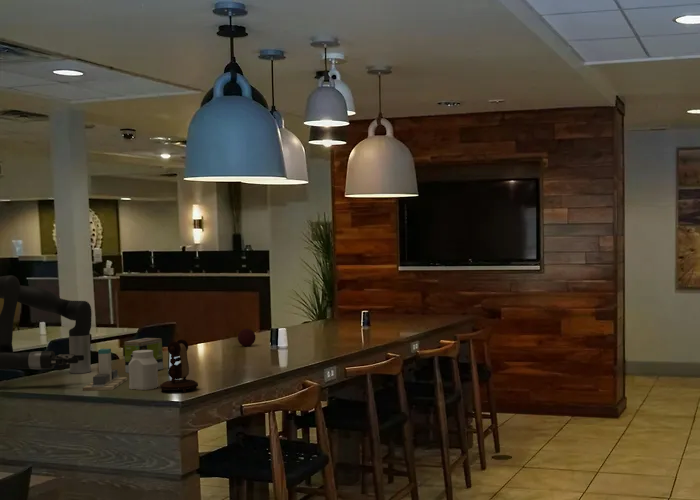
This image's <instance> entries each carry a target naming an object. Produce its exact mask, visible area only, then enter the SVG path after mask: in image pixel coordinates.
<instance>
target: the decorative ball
mask: <svg viewBox="0 0 700 500" xmlns="http://www.w3.org/2000/svg"><path fill="white" fill-rule="evenodd" d="M256 337H257V336H256V333H255V332H254V331H253V330H252V329H251V328H243V329H241V330H240V331H239V332H238V334H237V341H238V343H239V344H240V345H241V346H243V347H250V346H252V345H253V344H254V343H255V341H256Z"/></svg>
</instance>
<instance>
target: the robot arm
mask: <svg viewBox="0 0 700 500" xmlns="http://www.w3.org/2000/svg"><path fill="white" fill-rule="evenodd" d="M0 299H3V306H2V310H1V312H0V371H7V370H10V369H13V370H14V369H19V370H52V369H54V368H55V366H61V365H62V366H65V365H69V373H70V374H87V373H91V371H92V367H91V362H92V361H91V328H92V315H93V314H92V313H93V311H92V307H91V305H90V303H89V302H88V301H86V300H69V299H64V298H60V297H59V296H58V295H57V294H56V293H55V292H53V291H51V290H48V289H46V288H42V287H39V286H29V285H21V283H20V280H19V278H18V277H17V276H15V275H3V276H1V275H0ZM18 303H20V304H22V305H25V306H28V307H30V308H33V309H37V310H39V311H43V312H47V313H53V314H56V315H58V316H61V317H63V318H66V319H67V320H69V321H75V323H74V326H73V327H71V328H70V329H69V330H68V340H69V341H68V347H69V354H68V353H67V354H62V353H61V354H58V355H56V353H55V351H54V350H42V351H41V350H39V351H38V350H37V351H24V352H23V351H22V352H14V348H13V332H14V320H15V315H16V310H17V305H18Z"/></svg>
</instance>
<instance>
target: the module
mask: <svg viewBox="0 0 700 500" xmlns="http://www.w3.org/2000/svg"><path fill="white" fill-rule="evenodd" d="M97 351H98V353H97V354H98V374H110V380H111V379H112V370H113V369H112V349H111V348H100V349H98V350H97Z"/></svg>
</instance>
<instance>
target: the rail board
mask: <svg viewBox="0 0 700 500" xmlns="http://www.w3.org/2000/svg"><path fill="white" fill-rule="evenodd" d="M126 381H128V376H119V378H117V379H116V380H114V381H113V382H111V383H109V384H108V385H106V386H105V387H92V385H93V381H92V382H90V383H89V384H87V385H85V386H83V387H82V391H85V392H87V391H88V392H89V391H113V390H114V389H116V388H118V387H119V386H121V385H122V384H123V383H124V382H126Z"/></svg>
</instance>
